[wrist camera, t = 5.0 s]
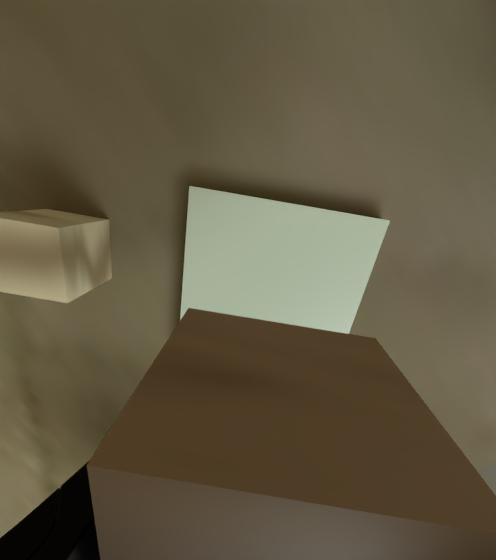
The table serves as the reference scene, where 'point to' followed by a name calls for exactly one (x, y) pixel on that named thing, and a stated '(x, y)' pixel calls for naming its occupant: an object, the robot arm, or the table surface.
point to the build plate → (277, 259)
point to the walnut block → (282, 455)
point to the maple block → (53, 254)
